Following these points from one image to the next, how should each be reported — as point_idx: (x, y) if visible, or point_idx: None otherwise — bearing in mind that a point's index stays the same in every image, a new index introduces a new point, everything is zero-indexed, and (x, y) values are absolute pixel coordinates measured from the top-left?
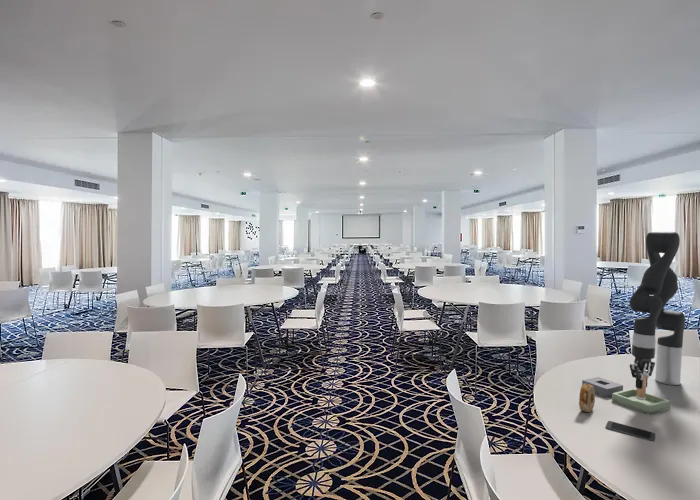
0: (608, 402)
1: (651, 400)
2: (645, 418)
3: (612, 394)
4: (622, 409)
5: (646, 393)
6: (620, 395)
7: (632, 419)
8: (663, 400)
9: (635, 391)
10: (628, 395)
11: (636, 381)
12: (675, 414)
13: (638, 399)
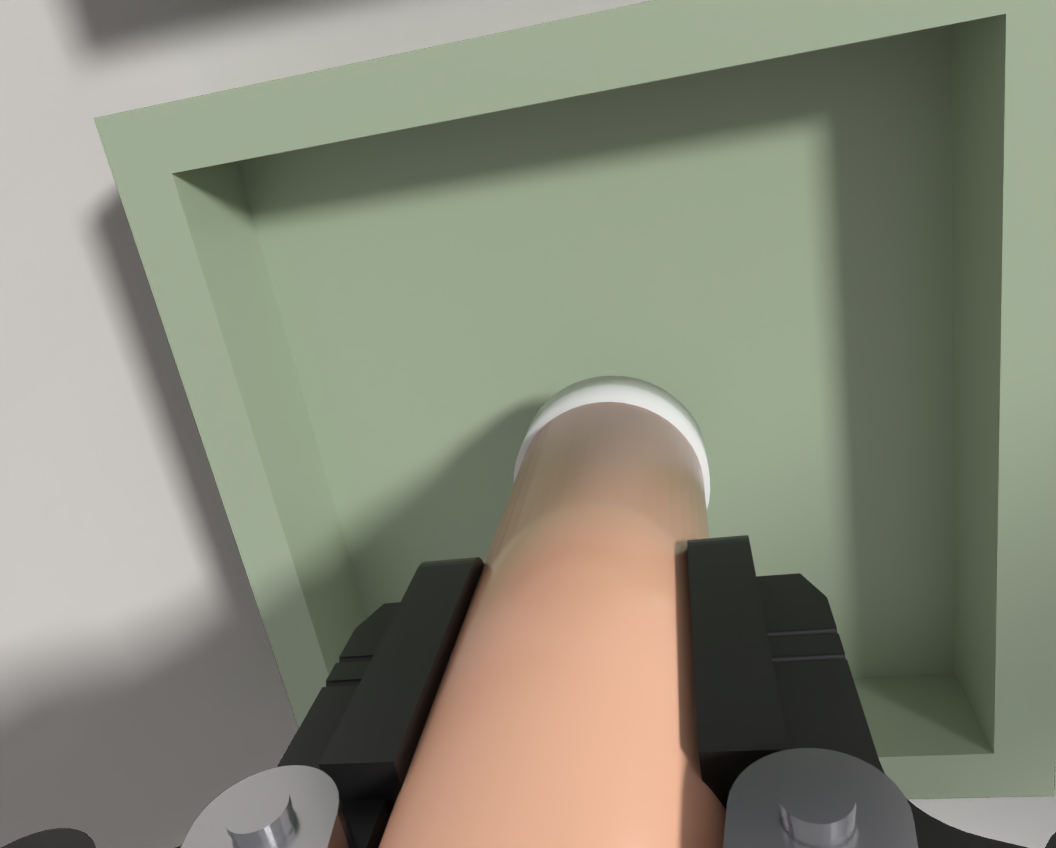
0: (59, 171)
1: (957, 444)
2: (204, 764)
3: (113, 122)
4: (99, 475)
5: (1020, 366)
6: (199, 283)
7: (4, 727)
8: (986, 699)
9: (985, 77)
10: (718, 69)
11: (307, 742)
12: None
13: (733, 311)
